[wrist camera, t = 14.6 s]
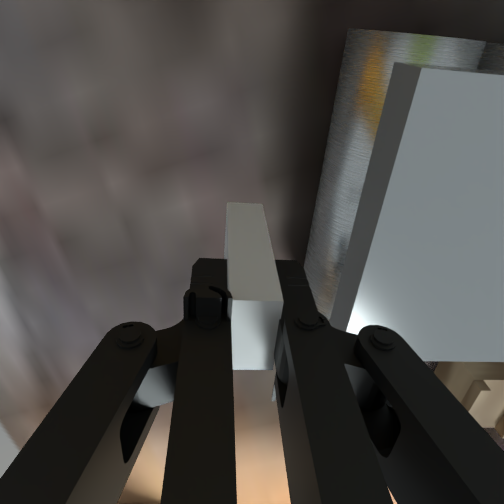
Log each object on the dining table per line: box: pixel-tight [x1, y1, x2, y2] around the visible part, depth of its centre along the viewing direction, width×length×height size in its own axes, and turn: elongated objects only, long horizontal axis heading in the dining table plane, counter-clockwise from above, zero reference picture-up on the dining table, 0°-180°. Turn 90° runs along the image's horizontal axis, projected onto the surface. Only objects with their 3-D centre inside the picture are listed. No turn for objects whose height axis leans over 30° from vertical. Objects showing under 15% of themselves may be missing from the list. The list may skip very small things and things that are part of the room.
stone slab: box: [329, 62, 504, 362], centre depth 18 cm, size 12×14×2 cm
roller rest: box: [434, 361, 504, 439], centre depth 32 cm, size 5×6×5 cm
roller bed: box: [304, 28, 504, 321], centre depth 22 cm, size 13×16×6 cm
